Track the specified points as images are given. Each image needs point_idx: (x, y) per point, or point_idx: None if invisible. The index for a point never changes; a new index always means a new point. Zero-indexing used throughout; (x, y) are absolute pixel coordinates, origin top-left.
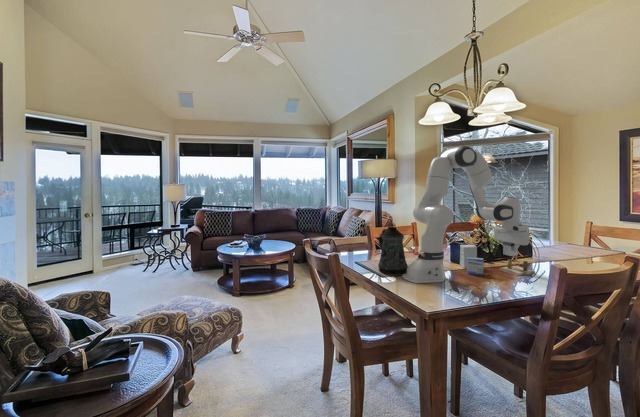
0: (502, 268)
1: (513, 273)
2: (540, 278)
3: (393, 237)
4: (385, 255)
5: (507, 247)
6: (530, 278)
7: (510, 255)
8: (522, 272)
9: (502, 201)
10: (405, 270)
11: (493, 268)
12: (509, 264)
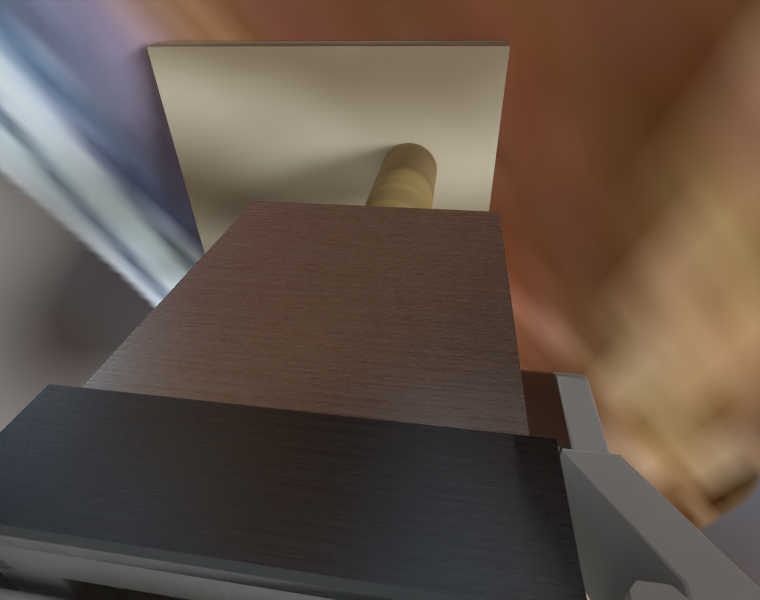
0: (454, 63)
1: (233, 42)
2: (50, 194)
3: None
4: None
5: (290, 350)
6: (38, 86)
7: (255, 207)
8: (189, 154)
9: None
10: None
11: (631, 24)
12: (380, 175)
